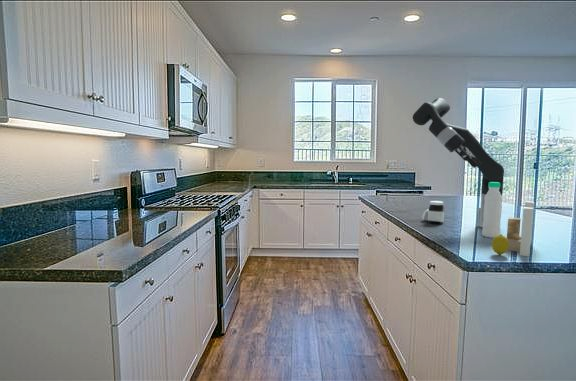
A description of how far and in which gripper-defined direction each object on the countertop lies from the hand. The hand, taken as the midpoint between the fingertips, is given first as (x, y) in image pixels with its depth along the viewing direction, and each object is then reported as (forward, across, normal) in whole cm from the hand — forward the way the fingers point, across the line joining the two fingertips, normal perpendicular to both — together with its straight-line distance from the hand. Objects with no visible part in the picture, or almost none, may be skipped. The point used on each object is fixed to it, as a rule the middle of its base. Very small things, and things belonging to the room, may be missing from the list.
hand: (478, 165), depth 151 cm
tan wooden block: (+33, -2, +13) cm, 36 cm away
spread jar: (+6, +32, +41) cm, 52 cm away
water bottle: (+27, +14, +20) cm, 36 cm away
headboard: (+35, -2, +11) cm, 37 cm away
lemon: (+31, -18, +15) cm, 39 cm away
